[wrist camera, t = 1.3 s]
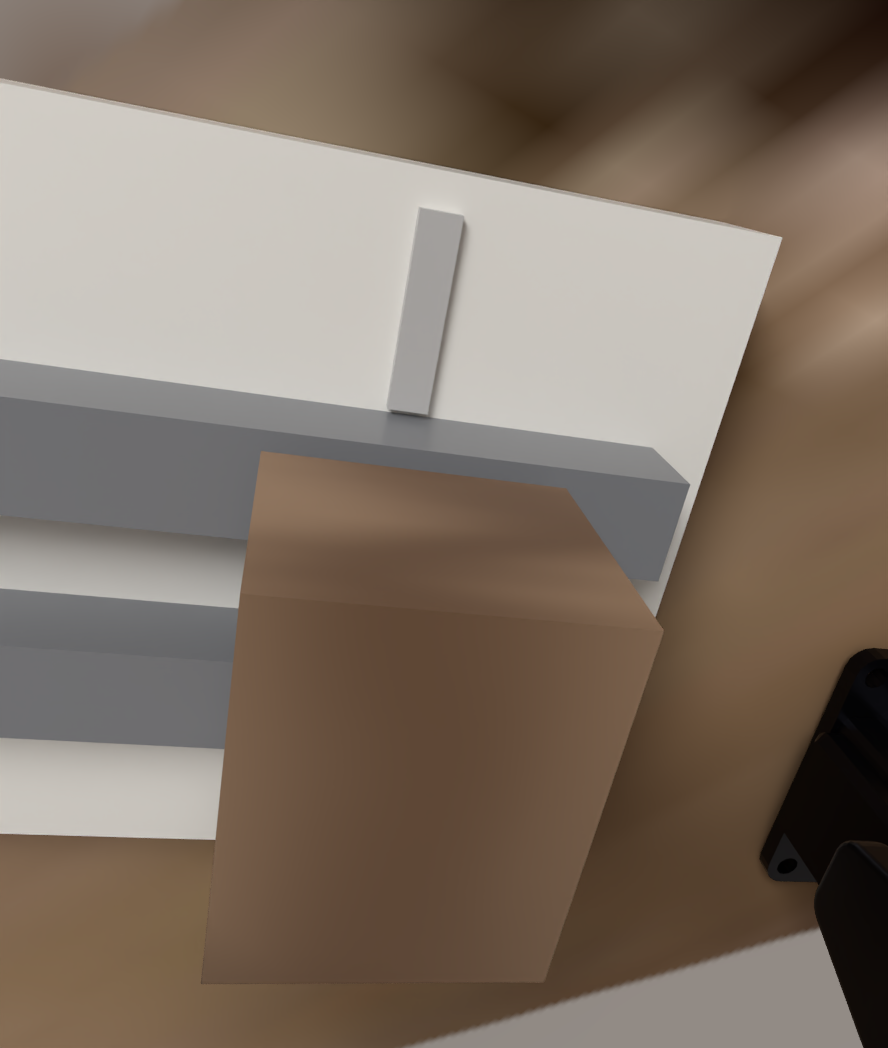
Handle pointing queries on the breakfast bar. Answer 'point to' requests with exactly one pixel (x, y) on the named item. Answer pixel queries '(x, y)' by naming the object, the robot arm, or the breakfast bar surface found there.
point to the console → (295, 401)
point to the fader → (416, 726)
